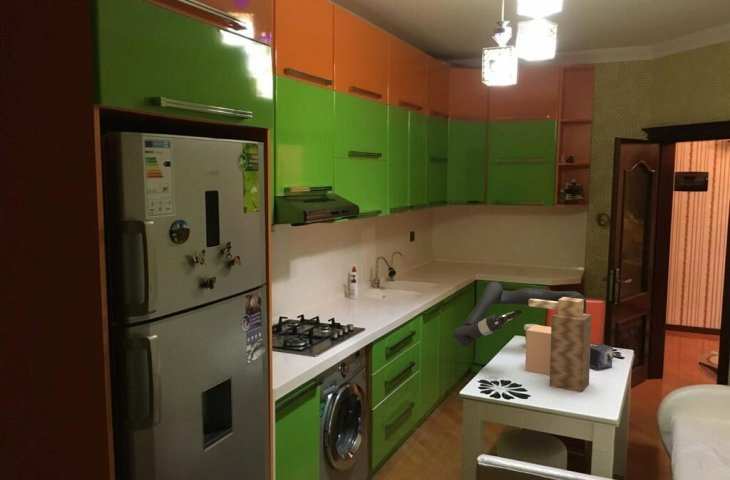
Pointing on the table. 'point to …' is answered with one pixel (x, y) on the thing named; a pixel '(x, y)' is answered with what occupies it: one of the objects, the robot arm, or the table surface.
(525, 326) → the disposable coffee cup
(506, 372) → the table surface
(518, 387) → the table surface
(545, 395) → the table surface
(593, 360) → the small box
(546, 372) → the pedestal
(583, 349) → the walnut block
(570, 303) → the mallet
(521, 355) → the table surface
